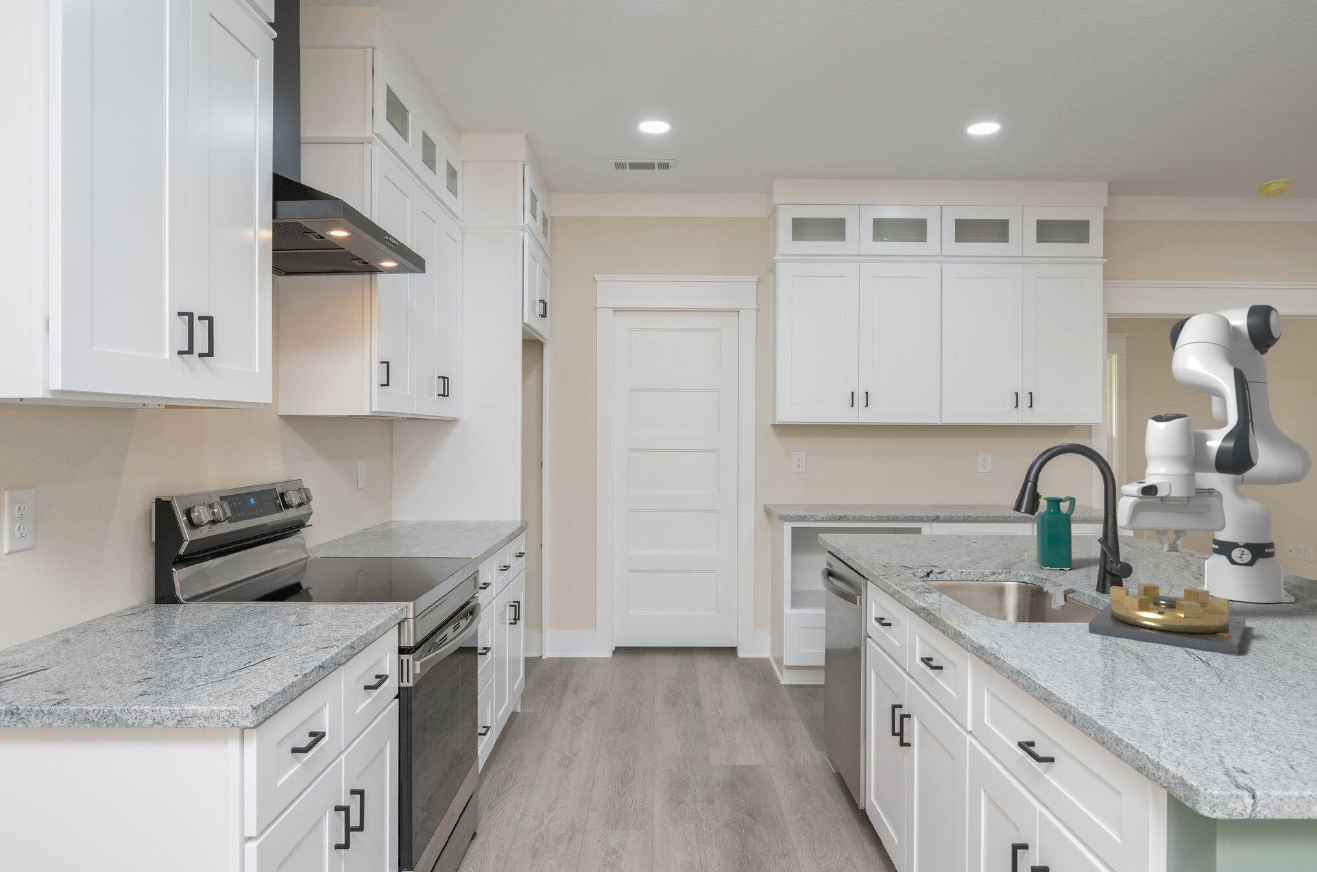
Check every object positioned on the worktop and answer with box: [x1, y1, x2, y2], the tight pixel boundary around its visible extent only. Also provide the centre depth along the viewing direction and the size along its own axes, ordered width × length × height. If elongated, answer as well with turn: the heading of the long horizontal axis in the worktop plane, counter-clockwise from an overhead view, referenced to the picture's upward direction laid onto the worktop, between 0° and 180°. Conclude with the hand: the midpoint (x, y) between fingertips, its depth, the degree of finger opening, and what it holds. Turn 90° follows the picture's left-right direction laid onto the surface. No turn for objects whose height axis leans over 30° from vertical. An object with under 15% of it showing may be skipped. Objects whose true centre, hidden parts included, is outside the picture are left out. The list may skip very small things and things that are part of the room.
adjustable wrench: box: [1043, 583, 1074, 610], centre depth 177 cm, size 25×6×2 cm, turn 145°
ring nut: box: [1109, 582, 1230, 633], centre depth 147 cm, size 20×20×6 cm
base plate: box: [1088, 602, 1247, 656], centre depth 147 cm, size 24×24×2 cm
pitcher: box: [1035, 495, 1077, 569], centre depth 216 cm, size 10×8×22 cm
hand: (1171, 551), depth 153 cm, fingers closed
